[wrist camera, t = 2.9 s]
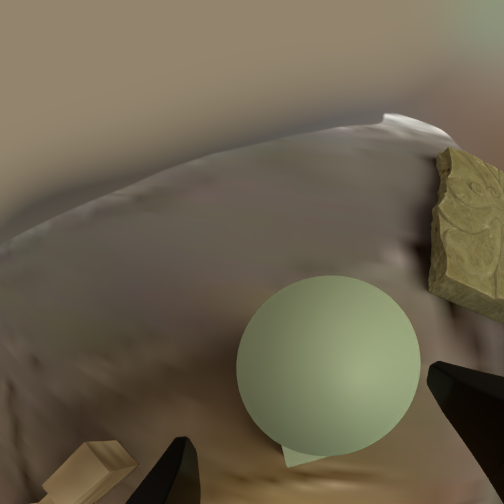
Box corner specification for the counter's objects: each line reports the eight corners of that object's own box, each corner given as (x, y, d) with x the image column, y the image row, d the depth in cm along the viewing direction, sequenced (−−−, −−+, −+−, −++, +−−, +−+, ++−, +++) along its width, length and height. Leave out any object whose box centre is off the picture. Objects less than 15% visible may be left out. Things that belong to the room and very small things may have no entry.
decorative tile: (526, 207, 23) (538, 191, 20) (544, 343, 14) (566, 330, 11) (424, 155, 29) (433, 133, 26) (418, 294, 19) (438, 273, 16)
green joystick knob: (337, 440, 14) (453, 479, 3) (276, 457, 14) (280, 549, 3) (306, 332, 18) (351, 199, 7) (249, 346, 18) (208, 228, 7)
